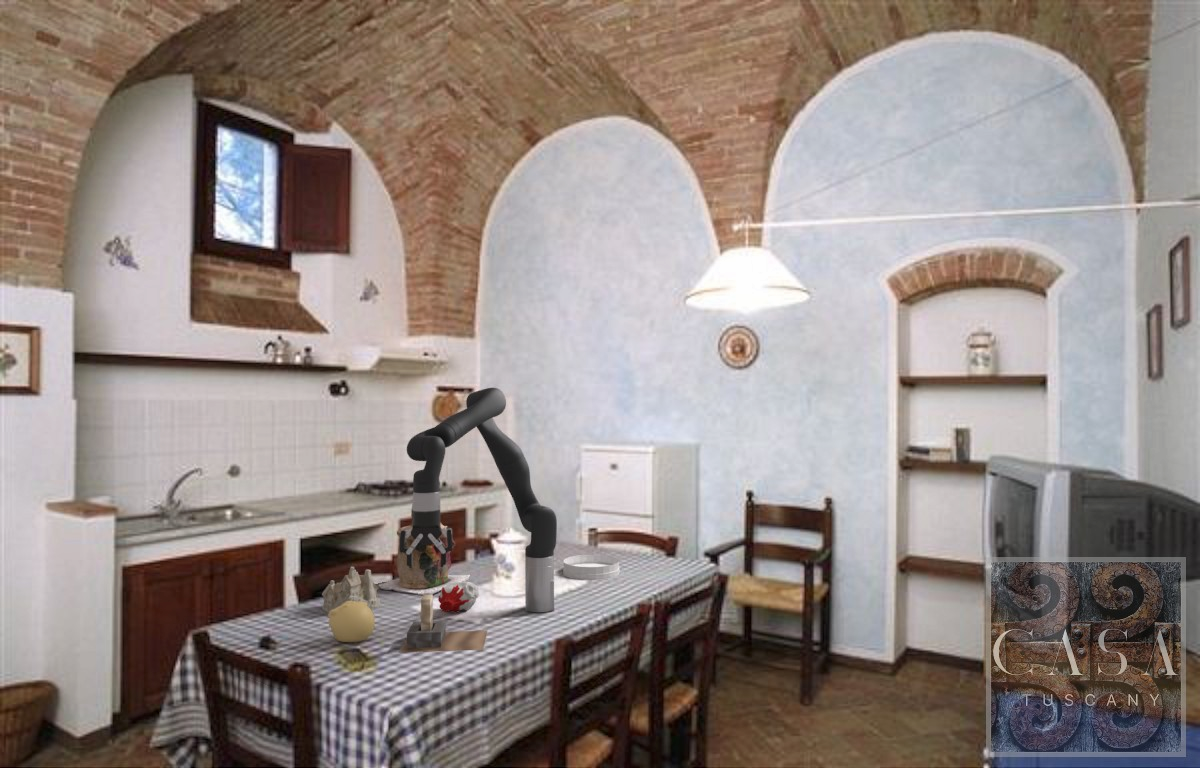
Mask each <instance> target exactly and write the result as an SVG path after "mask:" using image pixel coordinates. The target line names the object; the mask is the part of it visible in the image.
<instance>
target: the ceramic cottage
mask: <svg viewBox="0 0 1200 768" xmlns="http://www.w3.org/2000/svg"><path fill="white" fill-rule="evenodd" d="M378 589H379V586H378V585H376V583H374V580H373V576H372V570H371V569H365V571H364V575H361V574H359V572H358V571H357V570H356V569H355V566H350V569H349V571H348V574H346V575H345V574H344V577H343V579H342V581H341V582H336V583H335V580H330V581H329V584H328V585H326V587H325V589H323V591H322V593H321V596H322V597H323V605H322V610H323V611H324V612H326V613H327V614H329V612H330V611H331V610H333V609H335V608H337V607H339V606H341V605H342V604H343V603H345V602H346V601H355V602H358V601H362V602H366V603H367V606H368V607H369V608H370V609H371V611H373V610H375V609H378V608H381V606H382V604H381V599H380V598H379V597H378V596H379V595H378Z"/></svg>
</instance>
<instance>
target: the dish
mask: <svg viewBox="0 0 1200 768" xmlns="http://www.w3.org/2000/svg"><path fill="white" fill-rule="evenodd" d="M620 571H621V570H620V560H619V558H618V557H615V556H611V555H605V554H579V555H572V556H569V557H566V558H564V559H563V567H562V574H563V576H564V577H567V578H569V577H570V578H571V579H575V580H581V581H582V580H584V581H585V580H588V581H592V580H593V581H594V580H595V581H596V580H597V581H598V580H605V579H611V578H615V577H616V576H619V574H620Z"/></svg>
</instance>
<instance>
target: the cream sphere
mask: <svg viewBox="0 0 1200 768" xmlns="http://www.w3.org/2000/svg"><path fill="white" fill-rule="evenodd" d="M327 615H328V626H329V628H330V629H331V632H332V635H333V637H334V638H335V639H336V640H337V641H338V642H342V643H357V642H363V641H365V640H367V639H368V638H369V637H371V635H372V633H373V631H374V629H375V625H376V624H375V623H376V620H375V615H374V613H373V610H371V609H370V608H369V607H368V606H367V603H366V602H362V601H358V602H355V601H346V602H345V603H343V604H342V605H341V606H339V607H337V608H335V609H333V610H331V611H330V612H329V613H327Z"/></svg>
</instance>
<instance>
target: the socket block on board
mask: <svg viewBox="0 0 1200 768" xmlns="http://www.w3.org/2000/svg"><path fill="white" fill-rule="evenodd" d="M446 622H447V621H446V620H433V630H429V631H421V621H413V622H412V623H411V625H410V627H409V629H408V631H407V633H406V639H405V641H404V643H402V645H401V646H402V647H401V648H400V650H399V651H398V653H422V652H423V653H424V652H448V651H449V652H451V651H453V652H454V651H481V650H482V651H483V650H484V648H485V645H486V644H485V643H486V640H487V635H488V630H487V629H486V630H459V631H446V628H447V627H446V626H447V625H446V624H447V623H446Z"/></svg>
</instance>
